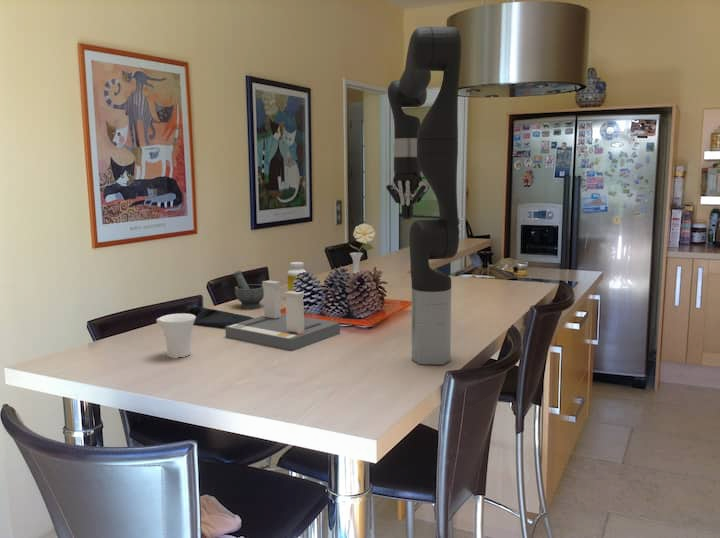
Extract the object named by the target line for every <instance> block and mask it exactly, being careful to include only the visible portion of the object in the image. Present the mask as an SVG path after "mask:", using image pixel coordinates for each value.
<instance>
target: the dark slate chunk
mask: <svg viewBox="0 0 720 538" xmlns="http://www.w3.org/2000/svg"><path fill="white" fill-rule="evenodd" d="M183 314H193V315H195V316H196V319H195V321H194V324H193V326H195V325H196V326H205V327H213V328H221V329H222V328H225V327H226V326H229V325H233V324H236V323H240V322H243V321H247V320H250V319H254V318H255V317H252V316H250V315H249V316H248V315H243V314H239V313H238V314H237V313H233V312H230V311H229V312H228V311H223V310H219V309H213V308H206V307H204V306H203V307H202V306H196V305H190V304H188V305H185V307H184V312H183Z"/></svg>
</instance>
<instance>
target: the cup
mask: <svg viewBox="0 0 720 538" xmlns="http://www.w3.org/2000/svg"><path fill="white" fill-rule="evenodd" d="M195 319H196V316H195V315H193V314H184V313H171V314H166V315H162V316H160V317H158V318H156V323H157V324H158V325H160V327H161V329H162V331H163V335H164V337H165V343H166V350H167V351H166V353H167V357H168V356H169V357H184V356H187V357H189V356H190V355H191V353H192V351H191V338H192V331H193V327H194V325H193V324H194V321H195ZM188 355H189V356H188ZM169 357H168V358H169ZM184 358H185V357H184Z"/></svg>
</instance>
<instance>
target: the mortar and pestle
mask: <svg viewBox="0 0 720 538" xmlns="http://www.w3.org/2000/svg"><path fill="white" fill-rule="evenodd" d="M233 277H235V279H236V282H237V284H238V285H237V286H234V292H235V293H234V294H235V296H236V298H237V300H238V302H240V303H241V305H240V309H241V308H242V310H256V309H260V308H261V304H260V303H261V302H262V300H264V288H263V286H262V284H256V283H253V284H252V283H251V284H248V283H247V281H246V279H245V278H244V275H243V271H242V270H237V271H235V272H233Z"/></svg>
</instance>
